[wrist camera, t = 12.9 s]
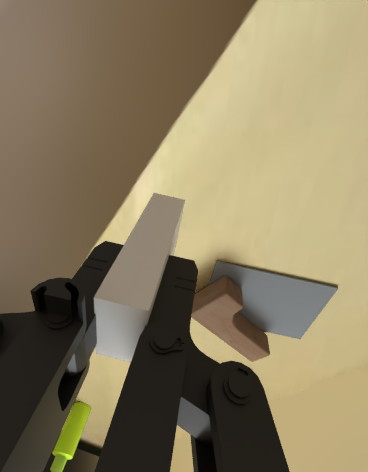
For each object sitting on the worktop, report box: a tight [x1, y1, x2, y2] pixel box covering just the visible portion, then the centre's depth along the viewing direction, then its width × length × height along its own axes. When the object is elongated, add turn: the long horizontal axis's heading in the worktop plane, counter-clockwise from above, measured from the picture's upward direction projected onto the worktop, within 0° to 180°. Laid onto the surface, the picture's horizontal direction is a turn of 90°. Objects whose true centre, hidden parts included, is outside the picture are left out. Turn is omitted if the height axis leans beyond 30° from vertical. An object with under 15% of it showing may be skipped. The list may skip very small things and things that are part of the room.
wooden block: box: [191, 276, 270, 362], centre depth 48 cm, size 9×4×18 cm
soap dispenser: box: [50, 402, 91, 472], centre depth 78 cm, size 6×7×20 cm
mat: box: [209, 260, 338, 339], centre depth 48 cm, size 21×15×1 cm
